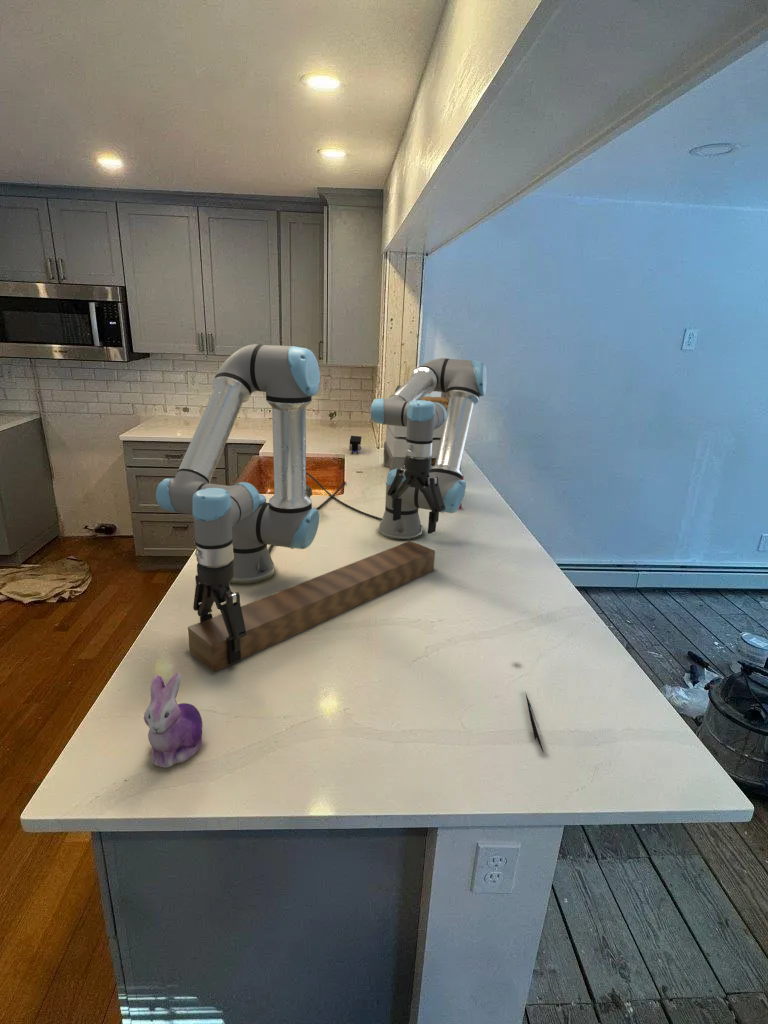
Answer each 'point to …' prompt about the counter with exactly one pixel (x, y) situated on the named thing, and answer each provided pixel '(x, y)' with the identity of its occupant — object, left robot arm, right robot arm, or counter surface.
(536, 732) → the feather
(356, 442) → the figurine character
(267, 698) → the counter surface
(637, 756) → the counter surface
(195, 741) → the figurine
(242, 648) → the wide beam
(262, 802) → the counter surface
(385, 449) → the grey slatted crate
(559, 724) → the counter surface
